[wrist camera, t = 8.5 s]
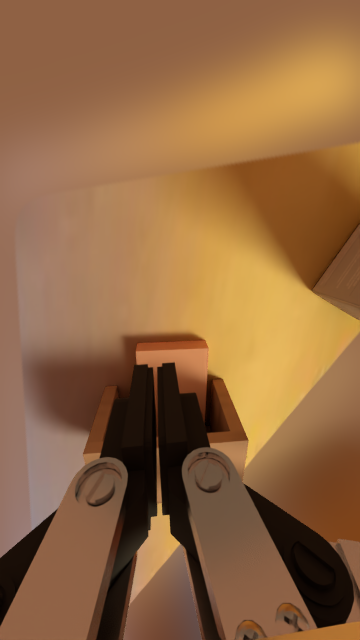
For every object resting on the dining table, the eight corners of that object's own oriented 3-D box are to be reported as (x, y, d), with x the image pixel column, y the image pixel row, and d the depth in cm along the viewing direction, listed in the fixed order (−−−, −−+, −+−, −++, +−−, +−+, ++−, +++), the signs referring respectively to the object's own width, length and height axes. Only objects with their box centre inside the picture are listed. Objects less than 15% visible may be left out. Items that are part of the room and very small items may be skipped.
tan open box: (218, 432, 29) (239, 502, 21) (114, 440, 28) (98, 517, 20) (222, 379, 26) (248, 440, 18) (105, 386, 25) (82, 454, 17)
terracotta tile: (200, 423, 29) (204, 438, 27) (144, 427, 28) (143, 442, 26) (204, 338, 24) (208, 348, 22) (137, 340, 24) (135, 351, 22)
